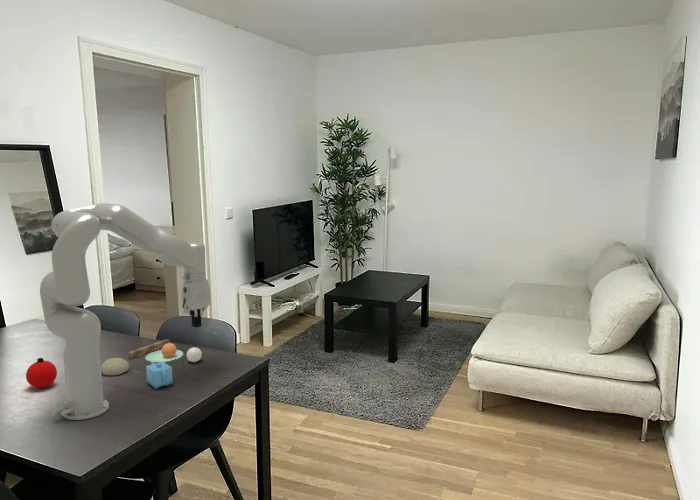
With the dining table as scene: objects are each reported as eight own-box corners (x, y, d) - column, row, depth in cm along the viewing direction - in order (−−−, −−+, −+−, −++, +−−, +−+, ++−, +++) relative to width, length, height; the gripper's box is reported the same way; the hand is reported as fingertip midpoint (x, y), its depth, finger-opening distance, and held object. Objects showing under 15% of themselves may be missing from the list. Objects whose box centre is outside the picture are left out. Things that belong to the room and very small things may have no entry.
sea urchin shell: (120, 373, 185) (105, 356, 185) (107, 386, 187) (92, 370, 187) (136, 363, 194) (121, 347, 194) (123, 376, 196) (108, 361, 196)
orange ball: (160, 342, 202) (156, 353, 205) (169, 351, 200) (165, 362, 202) (172, 338, 207) (168, 348, 209) (181, 347, 205) (177, 357, 207)
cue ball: (188, 343, 199) (182, 355, 200) (193, 353, 196) (187, 364, 197) (200, 344, 203) (194, 356, 204) (206, 354, 199) (200, 365, 201)
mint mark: (161, 364, 197) (161, 364, 197) (137, 357, 204) (137, 357, 204) (190, 353, 209) (190, 353, 209) (166, 347, 216) (166, 346, 216)
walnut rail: (132, 359, 203) (131, 353, 202) (128, 358, 204) (128, 352, 203) (169, 345, 218) (169, 339, 218) (166, 344, 219) (166, 339, 219)
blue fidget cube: (143, 380, 183) (142, 360, 182) (160, 376, 187) (159, 356, 186) (156, 392, 174) (155, 370, 173) (174, 387, 178) (173, 365, 177)
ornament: (63, 384, 179) (61, 356, 177) (36, 394, 171) (33, 365, 170) (48, 379, 184) (45, 351, 182) (21, 388, 176) (18, 360, 174)
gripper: (186, 281, 182) (187, 333, 184) (217, 274, 194) (219, 323, 197) (171, 279, 186) (173, 329, 188) (203, 272, 198) (204, 320, 201)
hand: (196, 326), depth 193 cm, fingers closed
